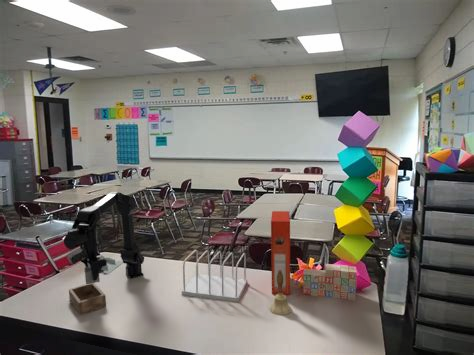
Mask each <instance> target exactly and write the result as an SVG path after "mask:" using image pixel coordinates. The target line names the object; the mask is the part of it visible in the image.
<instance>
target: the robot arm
mask: <svg viewBox="0 0 474 355" xmlns="http://www.w3.org/2000/svg"><path fill="white" fill-rule="evenodd" d="M136 204H137V203H136V198H135V197H133V196H132V195H127V194H123V193H122V192H120V191H110V192H109V193H108V194H107V195H106V196H104V197H103V198H101V199H100V200H99V201H98V202H97V201H96V203H94V204H93V205H91V206H87V207H84V208H82V209H79V211H78V212H77V214H76V217H75V219H74V222H73V225H72V227H71V229H72V230H68V231H67V234H66V235H65V236H64V239H63V244H64V246H65V247H66V248H67V249H68V250H72V251H71V252H69V253H67V254H66V258H67V259H68V262H69V263H70V264H72V265H76V264H77V263H79V262H81V263H83V265H84V268H86V267H88V268H89V269H91V273H92V277H93V280H94V281H95V280H97V277H98V275H99V276H100V272H101V271H102V270H101V268H102V267H103V266H106V265H107V260H105V259H104V258H103V257H100V256H101V252H99V246H100V243H99V241H98V232H97V231H98V230H97V229H98V228H100V227H101V225H100V224H98V222H100V220H101V218H102V215H103V214H104V213H105V212H106V211H108V210H109V209H110V208H111V207H113V206H114V205H116V206H115V207H116V211H117V212H118V213H119V214H120V217H121V227H122V236H123V246H122V248H121V249H120V251H119V252H120V258H121V261H122V262H123V263H122V264H125V275H126V276H127V277H129V278H130V279H134V278H137V277H140V276H143V275H144V273H143V272H142V271H143V270H142V269H143V268H142V264H144V262H145V257H144V256H143V254H142V253H141V251H140V247H139V246H138V245H137V243H136V239H135V228H134V219H133V218H134V216H133V214H134V211H135V210H136ZM78 247H79V248H78Z"/></svg>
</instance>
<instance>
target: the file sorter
mask: <svg viewBox="0 0 474 355" xmlns="http://www.w3.org/2000/svg"><path fill="white" fill-rule="evenodd" d="M198 251H199V250H197V249H194V250H193V251H192V252H191V253H190V254H189V255H188V256H187V257H185V258H184V260H183V263H182V264H183V265H182V278H183V281H182V282H183V283H182V284H183V289H182V290H181V295H182V296H189V297H196V298H197V297H198V298H205V299H213V300H220V301H221V300H222V301H228V302H229V301H230V302H239V301H240V299H241V296H242V295H243V292H244V290H245V289H246V286H247V285H248V283H249V282H248V279H247V278H246V277H247V276H246V275H247V272H246V271H247V269H246V267H247V266H246V265H247V263H246V259H247V258H246V257H247V256H246V252H243V253H242V254H241V256H240V258H239V259H238V260H237V263H236V265H235V277H234V252H230V253H228V255H227V256H226V258H225V259H224V260H223V259H222V258H223V257H222V251H218V252H217V253H216V254H215V255H214V256H213V257H212V258H211V260H210V252H209V250H207V249H206V250H205V251H203V253H202V254H201V256H199V254H198V253H199V252H198ZM194 253H196V264H195V269H196V270H195V273H196V274H195V275H193V277H192V278H191V280H190V281H189V282H188V283H187V284H186V275H185V274H186V273H185V272H186V270H185V268H186V267H185V264H186V261H187V260H188V259H189V258H190V257H191V256H192V255H193V254H194ZM206 253H207V270H208V271H207V272H208V273H207V274H199V262H200V260H201V259H202V258H203V257H204V256H205V255H206ZM218 255H219V269H220V270H219V276H217V275H211V264H212V262H213V261H214V260H215V259H216V257H217V256H218ZM230 257H231V277H227V276H224V266H225V263H226V262H227V261H228V260H229V258H230ZM243 257H244V259H243ZM242 259H243V260H244V261H243V263H244V265H243V270H244V271H243V274H244V275H243V278H244V279H243V278H238V266H239V264H240V262H241V260H242ZM222 260H223V262H222Z"/></svg>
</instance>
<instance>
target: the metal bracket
mask: <svg viewBox="0 0 474 355" xmlns="http://www.w3.org/2000/svg"><path fill="white" fill-rule="evenodd" d="M99 257H103V258H104V259H105V260H107V265H106V266H103V267H102V268H101V270H100V271H103V272H102V273H103V274H106V275H110V274H111V273H112V272H114V270H116V269H117V268H118V267H119V266H121V265H122V264H124V263H123V260H117V261H116V259H114V258H111V257H105V256H103V255H101V254H100V256H99Z"/></svg>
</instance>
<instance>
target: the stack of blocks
mask: <svg viewBox="0 0 474 355" xmlns="http://www.w3.org/2000/svg"><path fill="white" fill-rule="evenodd" d="M324 268H325V269H323V270H321V269H314V268H313V269H311V268H303V276H302V281H303V282H302V295H307V296H312V297H313V296H314V297H320V298H321V297H322V298H332V299H340V300H349V301H356V300H357V285H358V284H357V282H358V281H357V280H358V278H357V276H358V274H357V273H358V272H357V267H356V266H351V265H346V264H344V265H343V264H334V263H333V264H332V263H331V264H330V263H325V267H324Z"/></svg>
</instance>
